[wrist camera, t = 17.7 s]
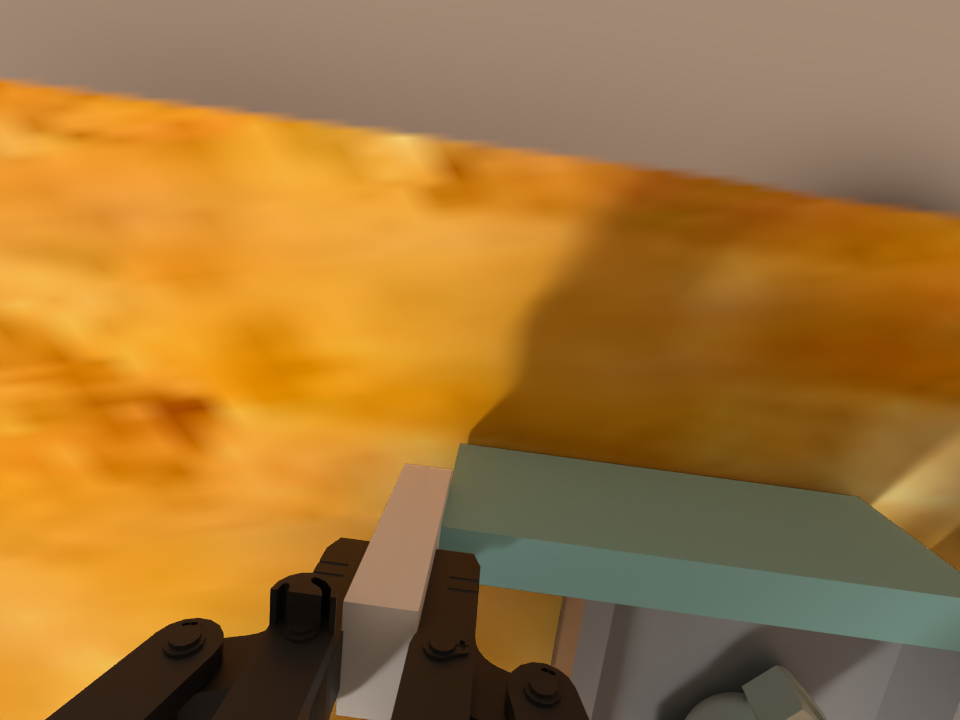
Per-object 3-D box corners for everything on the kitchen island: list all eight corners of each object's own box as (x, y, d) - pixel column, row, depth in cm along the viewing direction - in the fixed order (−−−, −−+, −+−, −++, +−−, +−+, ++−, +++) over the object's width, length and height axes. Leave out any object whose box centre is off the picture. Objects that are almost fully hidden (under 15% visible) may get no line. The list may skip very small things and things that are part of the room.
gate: (846, 535, 20) (982, 654, 15) (455, 481, 21) (434, 577, 15) (858, 496, 20) (1002, 604, 14) (459, 443, 20) (440, 526, 14)
